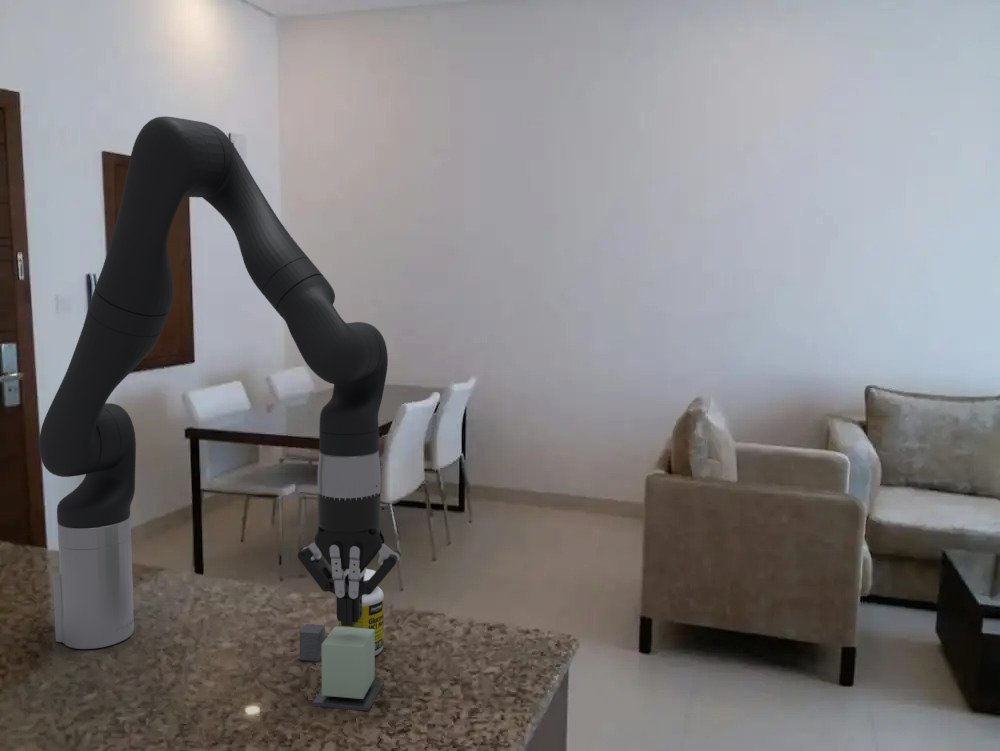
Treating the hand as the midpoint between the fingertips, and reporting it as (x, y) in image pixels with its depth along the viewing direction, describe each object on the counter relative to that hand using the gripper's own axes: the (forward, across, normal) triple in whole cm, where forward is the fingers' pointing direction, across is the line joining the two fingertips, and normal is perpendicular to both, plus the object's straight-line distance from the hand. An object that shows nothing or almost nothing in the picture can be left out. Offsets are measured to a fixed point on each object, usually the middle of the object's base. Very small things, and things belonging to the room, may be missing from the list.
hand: (349, 623), depth 103 cm
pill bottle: (+10, -2, +12) cm, 16 cm away
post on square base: (+9, 0, 0) cm, 9 cm away
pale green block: (+8, 0, 0) cm, 8 cm away
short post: (+9, -8, +9) cm, 15 cm away
